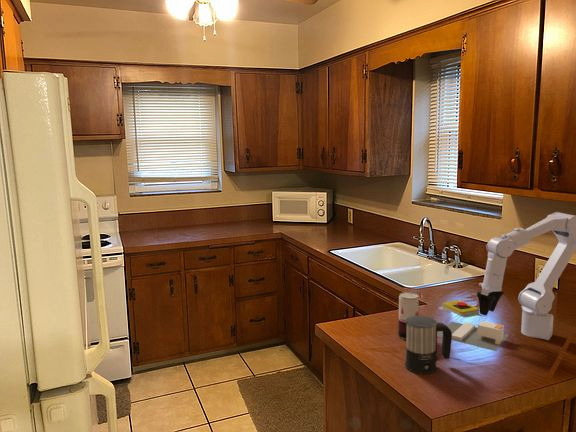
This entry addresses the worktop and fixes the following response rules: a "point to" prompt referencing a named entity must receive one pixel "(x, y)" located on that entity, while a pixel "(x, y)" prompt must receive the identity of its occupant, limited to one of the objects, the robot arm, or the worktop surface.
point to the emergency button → (460, 308)
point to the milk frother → (425, 343)
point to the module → (490, 331)
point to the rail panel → (471, 336)
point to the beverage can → (406, 311)
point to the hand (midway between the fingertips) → (486, 312)
